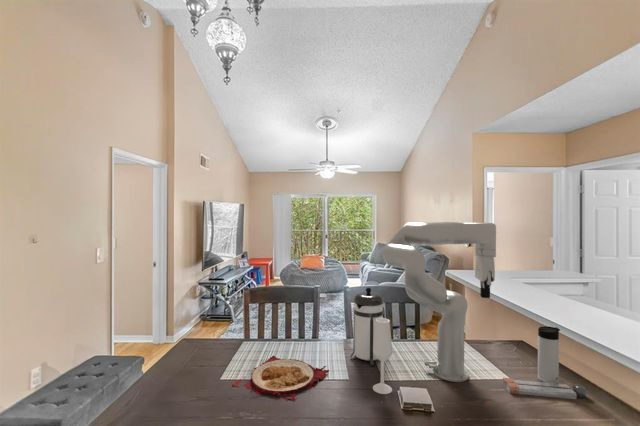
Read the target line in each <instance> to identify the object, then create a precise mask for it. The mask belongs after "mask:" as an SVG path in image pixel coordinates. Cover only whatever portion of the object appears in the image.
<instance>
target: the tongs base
mask: <svg viewBox="0 0 640 426" xmlns="http://www.w3.org/2000/svg"><path fill="white" fill-rule="evenodd" d="M506 382H511V383H516V384H517V385H528V386H539V387H550V388H561V389H571V387H570V386H569V385H568V384H567V383H559V384H557V383H545V382H539V381H532V380H531V381H530V380H521V379H513V378H511V377H502V385H503V386H504V388H505V389H506ZM572 390H573V391H574V392H576V398H580V399H586V398H587V387H585V386H583V385H581V384H577V383H576V384H575V383H574V384H572Z"/></svg>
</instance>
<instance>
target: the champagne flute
mask: <svg viewBox="0 0 640 426" xmlns="http://www.w3.org/2000/svg"><path fill="white" fill-rule="evenodd" d="M391 332H392V331H391V322H390V319H389V318H386V317H385V318H378V319H376V324H375V334H374V344H373V353H374V355H375V356H376V357H377V358H378V359H377V360H378V361H379V362H380V382H379V383H375V384H374V385H373V386H372V389H373V391H374V392H376V393H378V394H380V395H387V394H390V393H392V392H393V388H392V386H391V385H389V384H386V383H385V362H386V361H388V360H389V359H390V358H391V357H392V355H393V343H392V335H391V334H392V333H391Z"/></svg>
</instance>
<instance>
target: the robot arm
mask: <svg viewBox="0 0 640 426" xmlns="http://www.w3.org/2000/svg"><path fill="white" fill-rule="evenodd" d="M466 244H468V245H470V244H471V245H473V244H474V245H475V251H474V252H475V256H476V258H475V267H474V268H475V269H474V277H475V278H476V279H477V280H478V281H479V283H480V290H479V292H480V297H481V298H482V299H483V298H484V299H490V298H491V286H492V283H493V282H494V281H495V278H496V275H495V274H496V267H495V258H497V225H496V223H494V222H474V221H470V222H469V221H467V222H455V221H442V222H441V221H440V222H437V221H436V222H419V221H418V222H416V221H411V222H406V223H405V224H403V225H402V226H401V227H400V228H399V229H398V230H397V231H396V233H395V234H394V235H393V236H392V237H391V238H390V240H389V241H388V242H387V243H386V245H385V246H384V247H383V250H382V259H383V261H384V263H385V264H386V265H388V266H390V267H393V268H398V269H402V270H404V285H405V289H404V290H405V292H406V295H407V296H408V297H409V298H410V299H411V300H412V301H414V302H416V303H417V304H419V305H420V306H422V307H424V308H425V309H427V310H430V311H432V312H435V313H438V314H440V315H442V317H441V319H440V320H439V321H438V324H437V351H436V352H437V357H435V359H434V360H428V359H427V360H424V366H425V367H428V368H429V369H432V371H433V374H434V375H435V376H436V377H438V378H440V379H442V380H444V381H446V382H447V381H448V382H453V383H462V382H465V381H467V380H468V379H469V377H470V376H469V372H468V371H467V370H466V368H465V324H466V323H465V322H466V318H467V317H466V315H467V313H468V306H469V305H468V301H467V298H466V297H465V296H464V295H463V294H461V293H459V292H457V291H453V290H451V289H450V290H449V289H447V288H446V287H445V285H444V284H442V282H440V281H438V280H437V279H435V278H434V277H432V276H431V275H430V274H428V273H427V272H426V258H425V255H424V252H423V251H422V250H421V249H420V248H418V247H417V246H421V247H427V246H428V247H433V246H442V245H443V246H446V245H466ZM412 245H414V246H412Z"/></svg>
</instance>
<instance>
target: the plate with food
mask: <svg viewBox="0 0 640 426" xmlns="http://www.w3.org/2000/svg"><path fill="white" fill-rule="evenodd" d="M325 368H327V365H325V366H323V367H321V368H318V367H313V366H312V365H311V364H309V363H306V362H305V361H303V360H299V359H295V358H294V359H291V358H278V357H276V356H275V355H272V357H271V356H270V357H269V358H268V359H267V360H266V361H264V362H262V363H261V364H260V365H258V366H257V367H253V371H252V372H251V375H250V379H249V381H248V382H246V383H244V384H243V386H244V387H245V388H246V389H250V390H251V391H250V392H251V393H255V394H256V395H259V396H261V395H262V397H263V396H264V395H265V394H269V395H273V396H274V395H275V396H279V397H277V400H281V397H280V396H282V397H283V396H285V397H283V398H282V400H285V402H289V400H290V402H293V403H294V402H296V400H297V399H298V398H297V394H301V392H302V391H303V390H307V391H312V388H315V387H316V384H315V382H319V380H320V381H323V379H324V378H325V377H326V375H327V374H329V372H330V369H325ZM246 376H247V375H246ZM246 376H243V379H246ZM242 382H243V380H242V379H241V378H240V379H239V380H236V381H235V382H232V385H233V387H236V388H239V387H240V384H241V383H242ZM253 390H254V391H255V392H253ZM300 391H301V392H300ZM307 391H306V392H304V393H305V394H306V393H307ZM287 396H289V397H287ZM274 401H276V398H275V399H274Z"/></svg>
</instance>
